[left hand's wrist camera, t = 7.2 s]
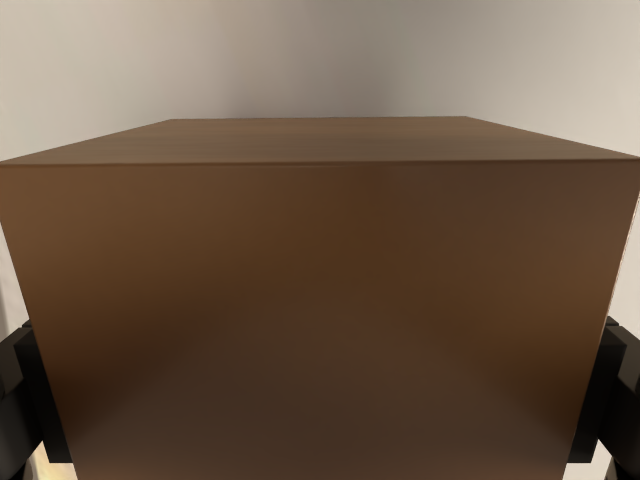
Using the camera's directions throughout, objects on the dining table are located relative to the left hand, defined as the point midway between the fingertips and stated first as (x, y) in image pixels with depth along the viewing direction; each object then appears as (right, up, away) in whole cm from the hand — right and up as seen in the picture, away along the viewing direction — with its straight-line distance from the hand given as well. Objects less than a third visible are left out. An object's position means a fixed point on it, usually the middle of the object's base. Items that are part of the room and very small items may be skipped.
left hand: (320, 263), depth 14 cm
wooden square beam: (0, -20, +8) cm, 22 cm away
